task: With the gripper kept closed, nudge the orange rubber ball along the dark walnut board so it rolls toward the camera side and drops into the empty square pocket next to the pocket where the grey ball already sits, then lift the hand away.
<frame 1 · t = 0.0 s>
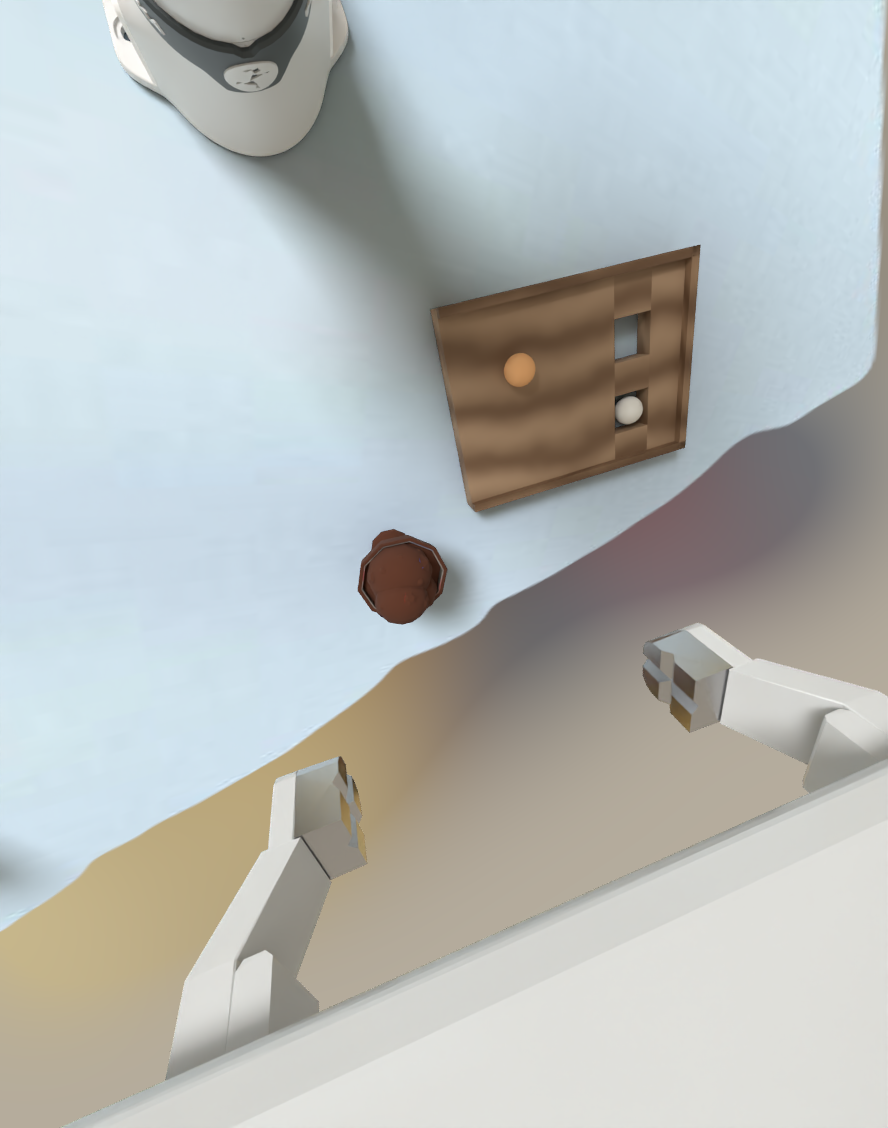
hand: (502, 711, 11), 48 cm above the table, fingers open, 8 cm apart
ball orange: (519, 370, 51), point 4 cm above the table, touching deck
ball grey: (628, 410, 59), point 2 cm above the table
ice cream bowl: (390, 547, 61), on the table
deck: (565, 385, 57), on the table
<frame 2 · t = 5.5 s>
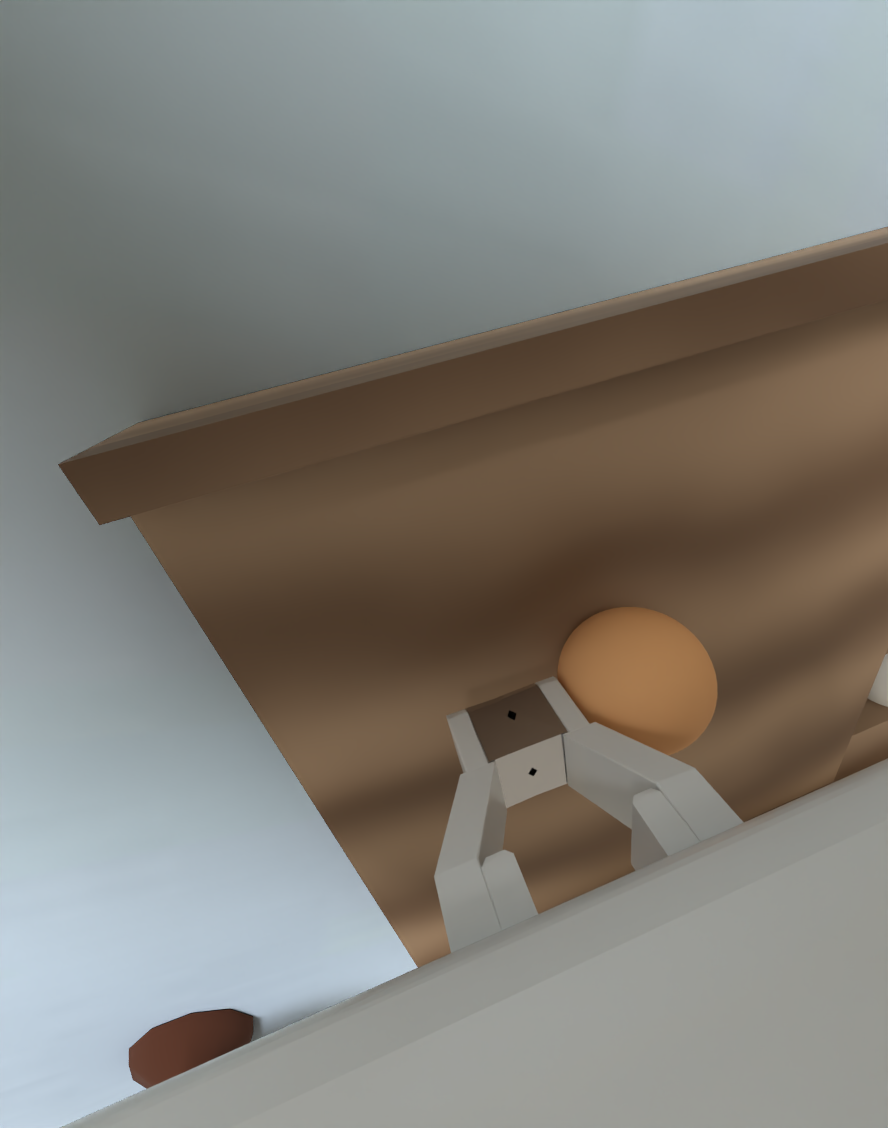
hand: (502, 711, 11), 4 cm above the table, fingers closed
ball orange: (632, 679, 11), point 4 cm above the table, tilted 29°, touching deck, gripper
ice cream bowl: (195, 1034, 22), on the table
deck: (721, 616, 17), on the table
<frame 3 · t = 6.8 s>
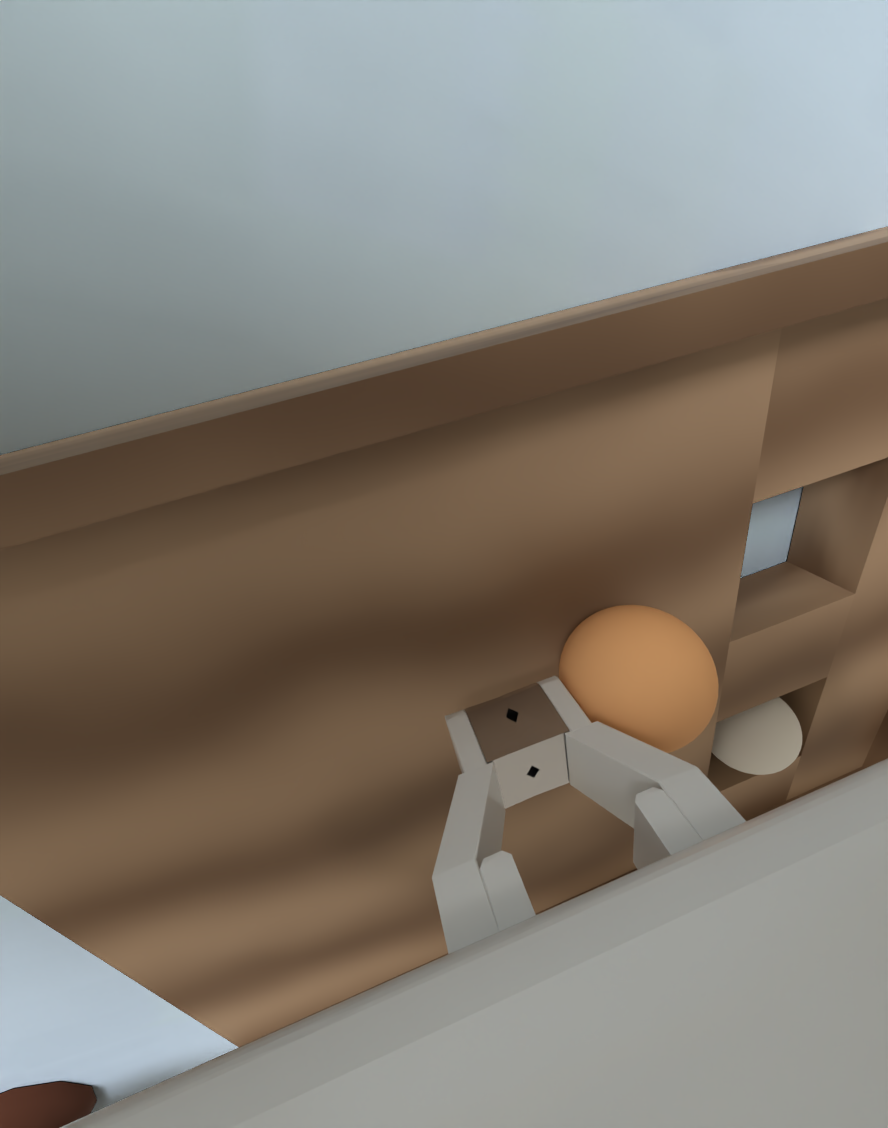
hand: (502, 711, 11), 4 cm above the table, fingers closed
ball orange: (633, 677, 11), point 4 cm above the table, tilted 85°, touching deck
ball grey: (747, 727, 19), point 2 cm above the table
ice cream bowl: (28, 1106, 21), on the table
deck: (544, 680, 16), on the table
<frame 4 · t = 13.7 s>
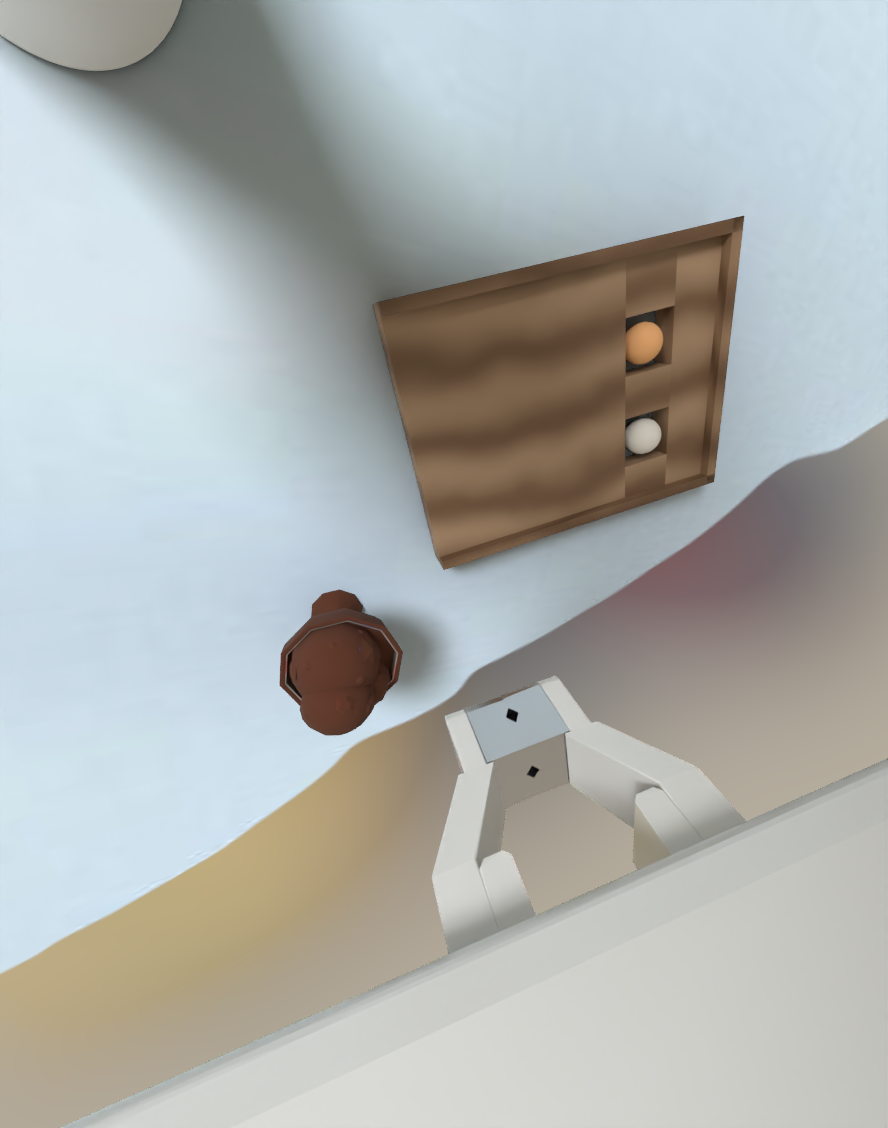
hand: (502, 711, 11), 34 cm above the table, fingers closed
ball orange: (641, 343, 41), point 2 cm above the table, tilted 169°
ball grey: (642, 436, 46), point 2 cm above the table
ice cream bowl: (337, 610, 48), on the table
deck: (561, 404, 44), on the table
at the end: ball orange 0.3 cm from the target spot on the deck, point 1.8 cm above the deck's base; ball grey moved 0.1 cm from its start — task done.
